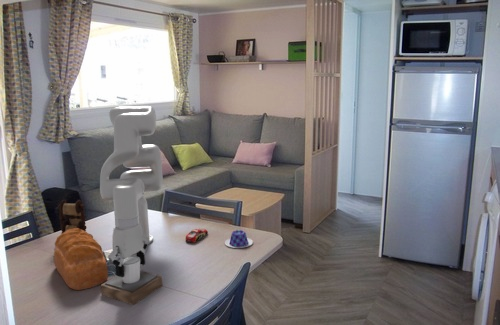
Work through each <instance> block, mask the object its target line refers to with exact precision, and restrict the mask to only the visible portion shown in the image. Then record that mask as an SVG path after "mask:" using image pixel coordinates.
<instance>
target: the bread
mask: <svg viewBox="0 0 500 325" xmlns="http://www.w3.org/2000/svg"><path fill="white" fill-rule="evenodd" d="M61 233H62V232H61ZM89 234H90V233H88V231H87V230H86V231H84V230H81V229H79V228H74V229H69V230H66V231H65V232H64V233H62V234H60V235H59V236H58V237H56V240H55V242H54V248H55V250H54V252H53V253H54V254H53V260H54V266H55V268H56V270H57V272H58V273H59V275H60V277H61V278H62V279H63V281H64V282H65V284H66V285H67V286H68V287H69V288H70V289H72V290H75V291H81V290H85V289H86V290H87V289H90V288H93V287H96V286H99V285H102V284H103V283H105V282H106V281H107V280H108V278H109V273H108V272H109V271H108V265H107V260H106V257H105V256H104V252H103V249H102V246H101V245H100V244H99V243H98V242H97V240H95V238H94V236H93V235H92V234H91V235H92V236H93V237H92V236H91V235H89Z"/></svg>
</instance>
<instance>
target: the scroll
mask: <svg viewBox="0 0 500 325" xmlns="http://www.w3.org/2000/svg"><path fill="white" fill-rule="evenodd" d="M57 208H58V211H59V213H58V214H59V215H58V219H59V221H60V222H59V223H60V225H59V227H60V229H61V230H60V231H61V234H62V233H64V232H65V231H66V230H69V229H74V228H79V229H81V230H84V231H86V232H87V226H86V218H87V216H86V215H85V214H86V213H85V205H84V204H83V202H82V200H80V199H78V200H76V201H75V203H68V201H67V200H66V199H63V200H61V201H60V203H59V204H58V205H57ZM64 219H65V220H64ZM68 220H69V221H68ZM61 234H60V235H61ZM88 234H89V235H91V236H92V237H93V238H94V236H93V235H92V234H91V233H88Z"/></svg>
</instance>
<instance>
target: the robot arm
mask: <svg viewBox="0 0 500 325" xmlns="http://www.w3.org/2000/svg"><path fill="white" fill-rule="evenodd" d="M108 114H109V116H108V117H109V121H110V122H111V124H112V125H113V152H112V153H111V154H110V155H109V156H108V158H107V159H106V160H105V162H103V165H102V167H101V170H100V175H99V192H100V197H101V199H102V200H103V201H104V202H112V203H113V213H114V224H115V227H114V228H113V230H112V231H113V232H112V251H111V252H110V253H109V255H108V256H107V258H108V261H110V263H111V264H112V265H113V266H114V268H115V275H116V276H119V277H124V266H123V265H122V264H123V261H124V259H125V258H127V257H129V256H134V255H135V254H136V255H135V256H137V257H139V258H140V266H145V265H146V257H145V254H146V251H147V249H148V245H149V244H152V242H153V241H154V236H153V235H151V234H150V225H149V213H148V212H149V210H148V201H147V199H146V197H145V196H144V194H145V193H150V192H151V193H152V192H158V191H161V190H162V189H163V186H164V179H163V178H164V177H163V176H164V175H163V164H162V162H163V161H162V153H161V149H160V146H158V145H157V144H143V142H142V136H152V135H153V134H155V131H156V126H157V122H156V121H157V115H156V111H155V108H154V107H153V106H150V105H140V106H139V105H138V106H137V105H135V106H133V105H132V106H131V105H130V106H129V105H128V106H127V105H126V106H125V105H124V106H116V107H112V108H111V109H110V110H109V112H108ZM120 165H123V167H125V168H127V169H131V170H126V171H124V172H122V173H121V175H120V177H119V178H110V175H111V174H112V171H114V170H115V169H116V168H117V167H119V166H120ZM140 168H141V169H140ZM142 168H143V169H142ZM144 168H149V169H144ZM132 169H133V170H132ZM119 260H120V261H119ZM116 276H115V277H116Z"/></svg>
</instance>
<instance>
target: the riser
mask: <svg viewBox="0 0 500 325" xmlns="http://www.w3.org/2000/svg"><path fill="white" fill-rule="evenodd" d="M162 277H163V276H162V275H158V274H154V273H152V272H148V271H144V270H141V269H140V279H139V280H138V281H137V282H134V283H124V282H123V280H122V277H119V276H114V277H113V278H111V279H109V280H106V281H104V282H103V283H101V284H100V290H101V296H103V297H104V296H105V297H108V298H110V299H115V300H118V301H121V302H123V303H126V304H129V305H132V306H134V305H136V304H137V303H139V302H140V301H141V300H143V299H145V298H146V297H148V296H149V295H150V294H152V293H154V292H156V290H158V289H159V288H161V287H163V278H162Z"/></svg>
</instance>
